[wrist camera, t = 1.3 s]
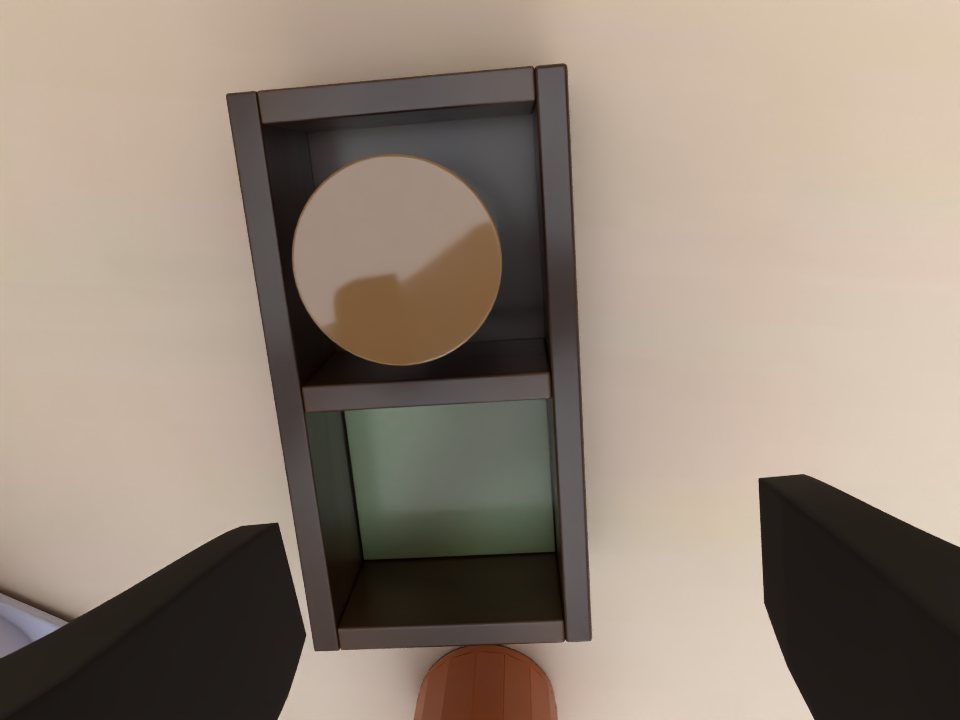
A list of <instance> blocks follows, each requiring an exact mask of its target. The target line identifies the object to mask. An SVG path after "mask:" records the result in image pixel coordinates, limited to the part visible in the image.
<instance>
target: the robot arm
mask: <svg viewBox="0 0 960 720" xmlns="http://www.w3.org/2000/svg"><path fill="white" fill-rule="evenodd" d="M759 500H760V521H761V543H762V565H763V586H764V604H765V606H766V609H767V612H768V615H769V618H770V621H771V623H772V626H773V629H774V632H775V635H776V638H777V640H778V643H779V646H780V648H781V651H782V653H783V656H784V659H785V661H786V664H787V667H788V669H789V671H790V673H791V675H792V677H793V679H794V681H795V683H796V685H797V686H798V688H799V690H800V692H801V694H802V696H803V698H804V700H805V702H806V704H807V706H808V708H809V710H810V712H811V714H812V716H813V718H814V719H815V720H960V547H958V546H956V545H953V544H951V543H949V542H947V541H944V540H942V539H940V538H938V537H936V536H933V535H931V534H929V533H927V532H925V531H923V530H920V529H918V528H916V527H914V526H912V525H910V524H908V523H906V522H904V521H902V520H899V519H897V518H895V517H893V516H891V515H889V514H887V513H885V512H883V511H881V510H879V509H877V508H875V507H873V506H871V505H869V504H867V503H865V502H863V501H861V500H859V499H857V498H855V497H853V496H851V495H849V494H847V493H845V492H843V491H841V490H839V489H837V488H835V487H832V486H830V485H828V484H826V483H824V482H822V481H820V480H817V479H815V478H812V477H810V476H807V475H804V474H800V475H789V476H779V477H768V478H759ZM305 638H306V632H305V628H304V624H303V620H302V616H301V612H300V608H299V604H298V600H297V596H296V592H295V588H294V584H293V580H292V576H291V572H290V568H289V564H288V560H287V556H286V552H285V548H284V544H283V540H282V536H281V532H280V528H279V524H278V523H269V524H258V525H247V526H240V527H238V528H236V529H233V530H231V531H228V532H226V533H224V534H222V535H220V536H218V537H217V538H215V539H213V540H211V541H209V542H207V543H206V544H204V545H202V546H200V547H198V548H197V549H195V550H193V551H192V552H190V553H188V554H186V555H185V556H183V557H181V558H180V559H178V560H176V561H175V562H173V563H171V564H170V565H168V566H166V567H165V568H163V569H161V570H160V571H158V572H156V573H155V574H153V575H151V576H149V577H148V578H146V579H144V580H143V581H141V582H139V583H138V584H136V585H134V586H133V587H131V588H129V589H128V590H126V591H124V592H123V593H121V594H119V595H117V596H116V597H114V598H112V599H110V600H108V601H107V602H105V603H103V604H101V605H100V606H98V607H96V608H94V609H92V610H91V611H89V612H87V613H85V614H84V615H82V616H80V617H78V618H76V619H75V620H73V621H71V622H67V621H64V620H62V619H60V618H57V617H55V616H53V615H50V614H48V613H46V612H43V611H41V610H39V609H36V608H34V607H32V606H29V605H27V604H25V603H22V602H20V601H18V600H15V599H13V598H11V597H8V596H6V595H4V594H1V593H0V720H277V719H278V717H279V715H280V713H281V711H282V708H283V706H284V704H285V701H286V699H287V697H288V694H289V691H290V688H291V685H292V682H293V679H294V676H295V673H296V670H297V666H298V663H299V659H300V656H301V652H302V649H303V645H304V642H305Z"/></svg>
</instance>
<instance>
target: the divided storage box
mask: <svg viewBox="0 0 960 720" xmlns="http://www.w3.org/2000/svg"><path fill="white" fill-rule="evenodd" d="M226 99H227V106H228V112H229V118H230V124H231V131H232V137H233V143H234V149H235V156H236V162H237V168H238V174H239V181H240V187H241V193H242V199H243V206H244V212H245V218H246V224H247V231H248V237H249V243H250V250H251V256H252V262H253V268H254V275H255V281H256V287H257V293H258V300H259V306H260V312H261V318H262V325H263V331H264V337H265V343H266V350H267V356H268V362H269V368H270V375H271V381H272V387H273V393H274V400H275V406H276V412H277V419H278V425H279V431H280V437H281V444H282V450H283V456H284V462H285V469H286V475H287V481H288V487H289V494H290V500H291V506H292V512H293V519H294V525H295V531H296V537H297V544H298V550H299V556H300V563H301V569H302V575H303V581H304V588H305V594H306V600H307V606H308V613H309V619H310V625H311V631H312V638H313V644H314V650H315V651H338V650H340V649H341V650H357V649H386V648H414V647H442V646H471V645H499V644H527V643H556V642H564V641H565V639H566V641H567V642H580V641H591V639H592V626H591V602H590V579H589V556H588V533H587V510H586V486H585V463H584V440H583V417H582V394H581V371H580V347H579V324H578V301H577V278H576V255H575V231H574V208H573V185H572V162H571V139H570V115H569V92H568V69H567V65H566V64H564V63H561V64H550V65H539V66H536V67H535V69H534V67H533V66H526V67H515V68H504V69H493V70H482V71H471V72H460V73H449V74H438V75H426V76H415V77H404V78H393V79H382V80H371V81H360V82H349V83H338V84H327V85H316V86H305V87H294V88H283V89H272V90H261V91H258V92H256V91H250V92H239V93H228V94H226ZM381 154H406V155H414V156H418V157H422V158H426V159H430V160H432V161H435V162H437V163H440V164H443V165H447V166H451V167H453V168H456V169H458V170H460V171H462V172H464V173H466V174H467V175H469V176H470V177H472V178H473V179H474V180H475V181H477V182H478V183H479V184H480V185H481V186H482V187H483V188H484V190H485V191H486V192H487V194H488V195H489V196H490V198H491V200H492V201H493V203H494V205H495V207H496V210H497V212H498V215H499V219H500V222H501V228H502V275H501V282H500V287H499V291H498V294H497V298H496V300H495V303H494V305H493V307H492V310H491V312H490V313H489V315H488V317H487V318H486V320H485V322H484V323H483V324H482V326H481V327H480V328H479V330H478V331H477V332H476V333H475V334H474V335H473V336H472V337H471V338H470V339H469V340H468V341H467V342H466V343H464V344H463V345H462V346H460V347H459V348H458V349H456V350H454V351H453V352H451V353H449V354H447V355H446V356H443V357H441V358H438V359H436V360H433V361H430V362H426V363H422V364H416V365H408V366H394V365H386V364H380V363H376V362H372V361H368V360H366V359H363V358H361V357H358V356H355V355H354V354H352V353H350V352H348V351H346V350H345V349H343V348H342V347H340V346H339V345H337V344H336V343H335V342H333V341H332V340H331V339H330V338H329V337H328V336H327V335H326V334H324V333H323V332H322V330H321V329H320V328H319V327H318V326H317V325H316V323H315V322H314V321H313V319H312V318H311V316H310V315H309V313H308V312H307V310H306V308H305V306H304V304H303V302H302V300H301V298H300V295H299V292H298V290H297V287H296V283H295V279H294V274H293V265H292V244H293V238H294V233H295V229H296V225H297V222H298V219H299V216H300V214H301V212H302V210H303V208H304V206H305V204H306V203H307V201H308V200H309V198H310V196H311V195H312V193H313V192H314V191H315V190H316V189H317V188H318V187H319V185H320V184H321V183H322V182H323V181H324V180H326V179H327V178H328V177H329V176H330V175H331V174H332V173H334V172H336V171H337V170H339V169H340V168H342V167H343V166H345V165H347V164H350V163H352V162H354V161H356V160H359V159H362V158H366V157H369V156H374V155H381Z"/></svg>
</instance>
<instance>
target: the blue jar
mask: <svg viewBox="0 0 960 720" xmlns="http://www.w3.org/2000/svg"><path fill="white" fill-rule="evenodd" d="M292 265H293V274H294V279H295V283H296V287H297V290H298V292H299V295H300V298H301V300H302V302H303V304H304V306H305V308H306V310H307V312H308V313H309V315H310V316H311V318H312V319H313V321H314V322H315V323H316V325H317V326H318V327H319V328H320V329H321V330H322V332H323V333H324V334H326V335H327V336H328V337H329V338H330V339H331V340H332V341H333V342H335V343H336V344H337V345H339V346H340V347H342V348H343V349H345V350H346V351H348V352H350V353H352V354H354V355H355V356H358V357H361V358H363V359H366V360H368V361H372V362H376V363H380V364H386V365H394V366H408V365H416V364H422V363H426V362H430V361H433V360H436V359H438V358H441V357H443V356H446V355H447V354H449V353H451V352H453V351H454V350H456V349H458V348H459V347H460V346H462V345H463V344H464V343H466V342H467V341H468V340H469V339H470V338H471V337H472V336H473V335H474V334H475V333H476V332H477V331H478V330H479V328H480V327H481V326H482V324H483V323H484V322H485V320H486V318H487V317H488V315H489V313H490V312H491V310H492V307H493V305H494V303H495V300H496V298H497V294H498V291H499V287H500V282H501V275H502V228H501V222H500V219H499V215H498V212H497V210H496V207H495V205H494V203H493V201H492V200H491V198H490V196H489V195H488V194H487V192H486V191H485V190H484V188H483V187H482V186H481V185H480V184H479V183H478V182H477V181H475V180H474V179H473V178H472V177H470V176H469V175H467V174H466V173H464V172H462V171H460V170H458V169H456V168H453V167H451V166H447V165H443V164H440V163H437V162H435V161H432V160H430V159H426V158H422V157H418V156H414V155H406V154H381V155H374V156H369V157H366V158H362V159H359V160H356V161H354V162H352V163H350V164H347V165H345V166H343V167H342V168H340V169H339V170H337V171H336V172H334V173H332V174H331V175H330V176H329V177H328V178H327V179H326V180H324V181H323V182H322V183H321V184H320V185H319V187H318V188H317V189H316V190H315V191H314V192H313V193H312V195H311V196H310V198H309V200H308V201H307V203H306V204H305V206H304V208H303V210H302V212H301V214H300V216H299V219H298V222H297V225H296V229H295V233H294V238H293V244H292Z"/></svg>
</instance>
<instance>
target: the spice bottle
mask: <svg viewBox="0 0 960 720" xmlns="http://www.w3.org/2000/svg"><path fill="white" fill-rule="evenodd" d="M414 720H558V719H557V707H556V703H555V697H554V692H553V689H552V686H551V684H550V682H549V680H548V678H547V677H546V675H545V673H544V672H543V671H542V670H541V669H540V667H539V666H538V665H536V664H535V663H534V662H533V661H532V660H531V659H529V658H528V657H526V656H525V655H523V654H521V653H519V652H517V651H514V650H512V649H509V648H505V647H501V646H495V645H473V646H468V647H464V648H461V649H458V650H455V651H453V652H451V653H449V654H447V655H446V656H444V657H443V658H441V659H440V660H439V661H438V662H436V663H435V664H434V665H433V667H432V668H431V669H430V670H429V672H428V673H427V675H426V676H425V678H424V680H423V683H422V686H421V689H420V693H419V695H418V699H417V705H416V710H415V715H414Z"/></svg>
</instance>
